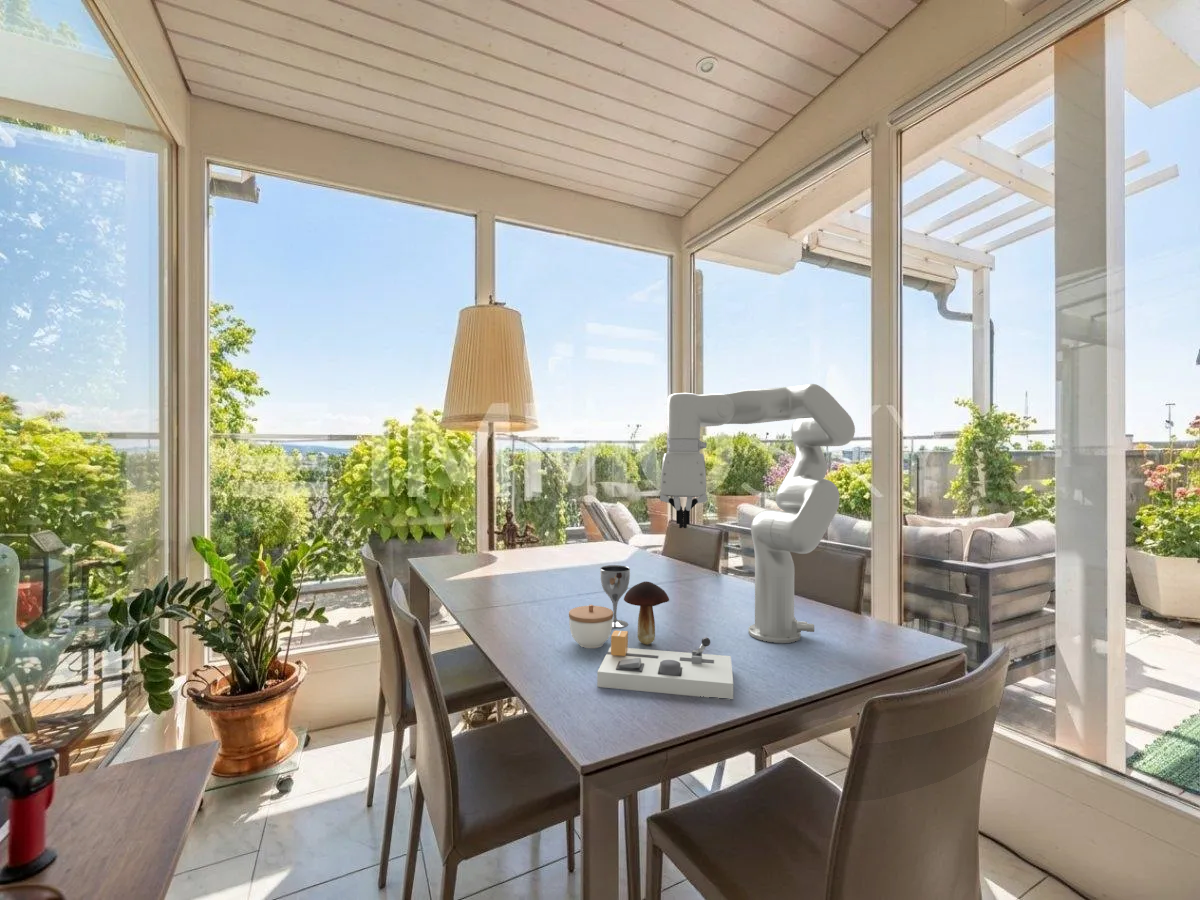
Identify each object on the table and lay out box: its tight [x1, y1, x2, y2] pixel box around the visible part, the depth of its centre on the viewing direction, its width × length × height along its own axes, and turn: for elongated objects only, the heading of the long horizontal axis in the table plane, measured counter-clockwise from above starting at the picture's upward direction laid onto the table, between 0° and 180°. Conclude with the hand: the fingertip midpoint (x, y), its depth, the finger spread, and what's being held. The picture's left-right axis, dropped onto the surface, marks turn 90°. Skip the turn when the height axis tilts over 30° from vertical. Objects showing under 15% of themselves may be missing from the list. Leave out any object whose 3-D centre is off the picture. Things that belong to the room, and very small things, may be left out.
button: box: [660, 660, 680, 676], centre depth 107 cm, size 4×4×4 cm
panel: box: [596, 646, 734, 700], centre depth 111 cm, size 26×14×5 cm, turn 78°
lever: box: [695, 636, 711, 656], centre depth 112 cm, size 2×2×5 cm
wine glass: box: [599, 564, 631, 629], centre depth 145 cm, size 8×8×15 cm
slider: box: [610, 629, 629, 656], centre depth 116 cm, size 3×4×4 cm
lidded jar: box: [568, 604, 614, 649], centre depth 130 cm, size 11×11×9 cm
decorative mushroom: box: [623, 581, 670, 646], centre depth 131 cm, size 11×11×15 cm
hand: (683, 527), depth 124 cm, fingers closed
